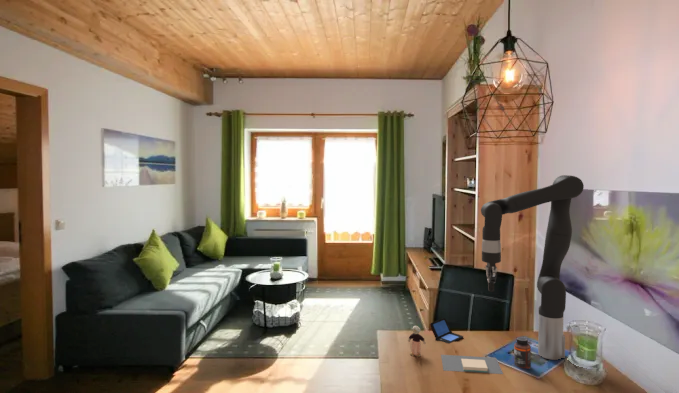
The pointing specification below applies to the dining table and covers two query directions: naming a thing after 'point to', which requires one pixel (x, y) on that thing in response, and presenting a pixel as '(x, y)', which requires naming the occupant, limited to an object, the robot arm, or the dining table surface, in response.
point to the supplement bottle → (522, 353)
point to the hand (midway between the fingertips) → (491, 291)
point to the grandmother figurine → (416, 341)
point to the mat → (455, 361)
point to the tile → (474, 365)
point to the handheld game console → (444, 332)
